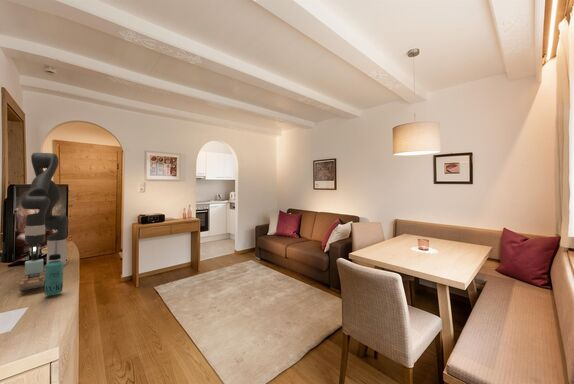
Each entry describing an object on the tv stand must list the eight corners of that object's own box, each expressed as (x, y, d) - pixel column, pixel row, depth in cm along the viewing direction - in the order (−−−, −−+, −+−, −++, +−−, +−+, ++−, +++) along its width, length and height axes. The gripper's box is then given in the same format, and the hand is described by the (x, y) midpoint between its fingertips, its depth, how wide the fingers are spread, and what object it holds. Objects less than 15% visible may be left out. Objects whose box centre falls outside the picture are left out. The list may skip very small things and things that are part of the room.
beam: (21, 282, 131) (21, 268, 131) (47, 278, 138) (47, 264, 138) (17, 297, 114) (18, 281, 114) (47, 291, 121) (47, 276, 121)
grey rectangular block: (25, 275, 124) (25, 261, 124) (43, 272, 129) (43, 258, 129) (24, 278, 121) (25, 263, 121) (42, 275, 125) (43, 260, 125)
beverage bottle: (41, 296, 115) (42, 255, 115) (59, 291, 121) (60, 252, 121) (47, 300, 112) (48, 257, 112) (65, 294, 118) (66, 254, 118)
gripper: (25, 232, 130) (24, 264, 130) (24, 236, 121) (23, 270, 121) (45, 231, 136) (44, 261, 136) (45, 234, 126) (44, 267, 126)
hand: (34, 265), depth 128 cm, fingers closed
